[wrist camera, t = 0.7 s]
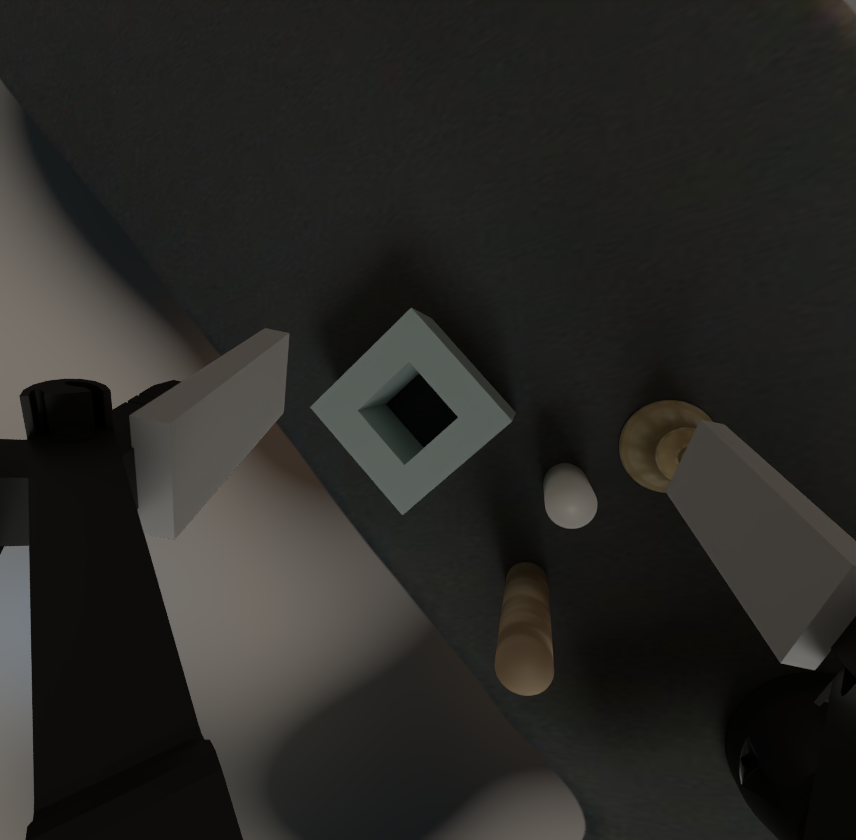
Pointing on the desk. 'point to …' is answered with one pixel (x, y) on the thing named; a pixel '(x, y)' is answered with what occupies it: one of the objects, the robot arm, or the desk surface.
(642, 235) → the desk surface
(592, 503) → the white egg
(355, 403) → the hole block
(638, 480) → the hand bell
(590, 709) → the desk surface
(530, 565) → the long pin
